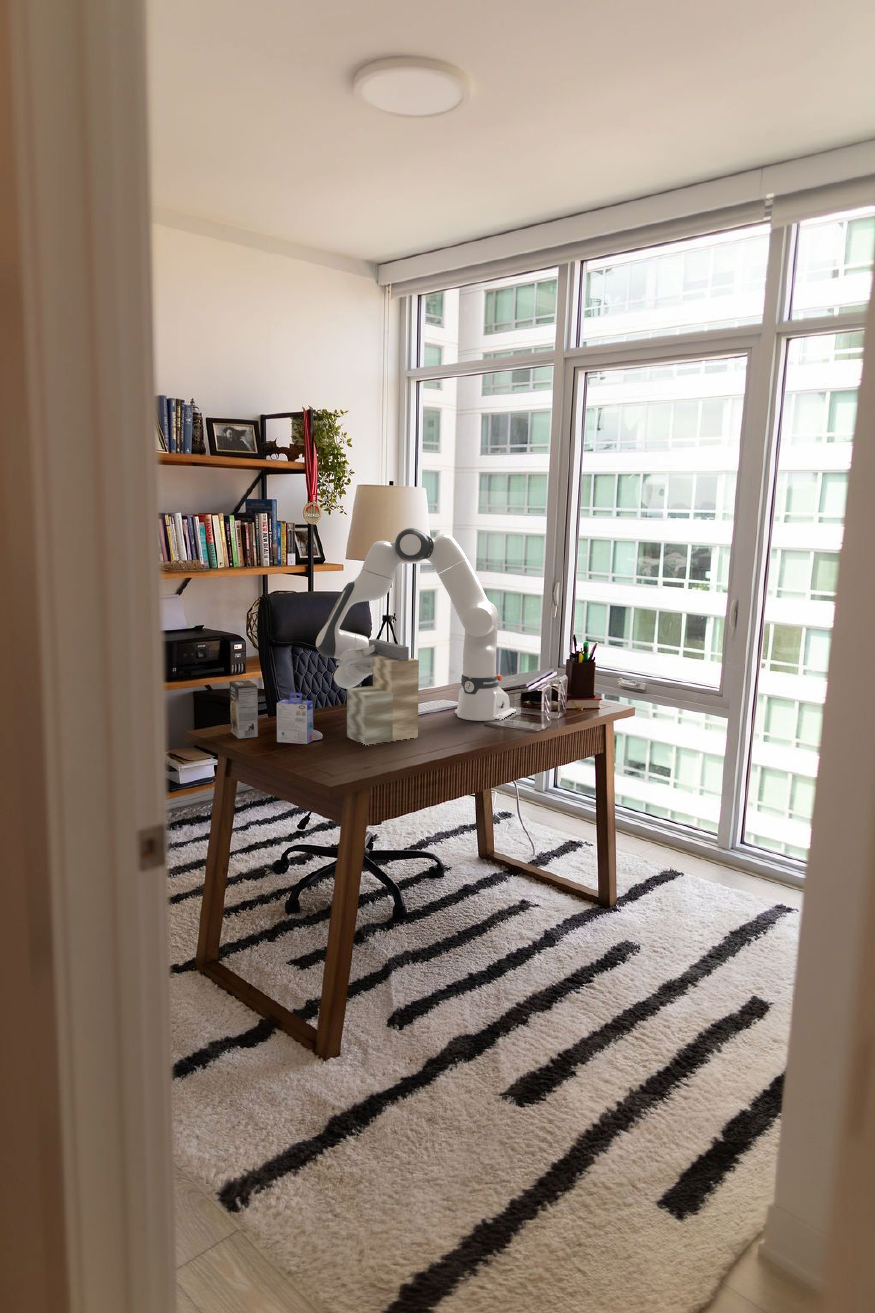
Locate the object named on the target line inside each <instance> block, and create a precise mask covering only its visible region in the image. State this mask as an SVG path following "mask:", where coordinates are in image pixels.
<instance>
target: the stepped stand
mask: <svg viewBox="0 0 875 1313" xmlns="http://www.w3.org/2000/svg"><path fill="white" fill-rule="evenodd" d="M419 665H420V661H419V659H417V658H416V659H415V658H411V657H409V660H406V661H398V660H394V659H391V658H387V657H384V656H377V657H373V674H372V685H368V686H359V687H358V686H356V687H352V688H348V689H346V737H347V738H349V739H351V740H353V741H355V742H357V743H359V742H361V743H363V744H362V745H364V744H365V745H364V746H366V745H368V746H370V745H369V744H374V745H377V744H376V743H381V742H388V743H391V742H390V741H394V742H397V741H396V740H401V741H404V740H403V739H407V740H411V739H410V738H414V739H418V738H419V689H420V688H419V683H420V682H419V681H420V680H419V676H420V675H419V674H420V670H419V669H420V668H419V667H420V666H419ZM417 737H418V738H417ZM361 743H360V744H361ZM381 744H382V743H381Z"/></svg>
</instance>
